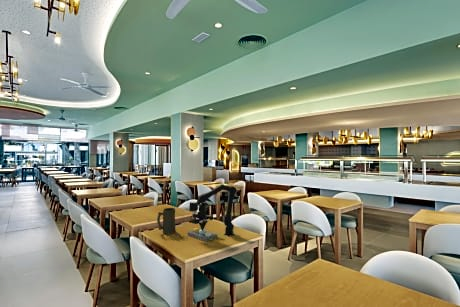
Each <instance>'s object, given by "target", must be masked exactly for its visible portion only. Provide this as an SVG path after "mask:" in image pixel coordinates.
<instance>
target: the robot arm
mask: <svg viewBox="0 0 460 307" xmlns="http://www.w3.org/2000/svg"><path fill="white" fill-rule="evenodd" d="M221 191H226V192H227V195H228V198H227V202H226V204H227V205H226V211H225V214H224V215H222V219H221V220H222V223H223V224H224V225H225V228H224V229H225V231H224V232H225V233H224V234H223V235H225V236H228V237H231V236H234V235H236V234H235V233H234V227H235V225H234V224H233V223H232V210H233V203H234V198H235V196H236V193H237V188H236V187H235V186H234V185H225V184H223V183H222V184H219V185H218V186H217V187H215V188H213V189H211V190H209V191H208V192H205V193H201V194H199V196H198V199H197V200H196V202H189V208H188V209H189V212H197V213H192V215H191V216H192V219H191V220H190V223H191V224H194V225H197V224H198V225H199V227H200V229H201V230H203V229H204V230H205V227H206V225H207V223H208V222H209V221H207V220H210V221H213V220H214V216H213V215H210V214H209V215H207V214H208V211H207V206H209V203H208V202H207V201H208V200H209V199H211V197H213V196H215V195H216V194H218V193H219V192H221Z"/></svg>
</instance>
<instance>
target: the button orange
mask: <svg viewBox="0 0 460 307" xmlns="http://www.w3.org/2000/svg"><path fill="white" fill-rule="evenodd" d="M200 229H201V227H200V228H199V227H195V228H194V227H193V230H194V232H195V233H198V232H199V230H200Z"/></svg>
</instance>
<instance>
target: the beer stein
mask: <svg viewBox="0 0 460 307" xmlns="http://www.w3.org/2000/svg"><path fill="white" fill-rule="evenodd" d="M161 216H162V224H161ZM156 222H157V225H158V231H161V230H162V234H164V235H172V234H175V233H176V232H177V230H176V208H175V207H166V208H163V210H162V212H161V211H159V212H158V214H157V217H156Z"/></svg>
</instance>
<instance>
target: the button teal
mask: <svg viewBox="0 0 460 307" xmlns="http://www.w3.org/2000/svg"><path fill="white" fill-rule="evenodd" d="M205 231H206V229H205V228H204V229H203V230H199V234H201V235H203V234H205Z"/></svg>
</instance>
